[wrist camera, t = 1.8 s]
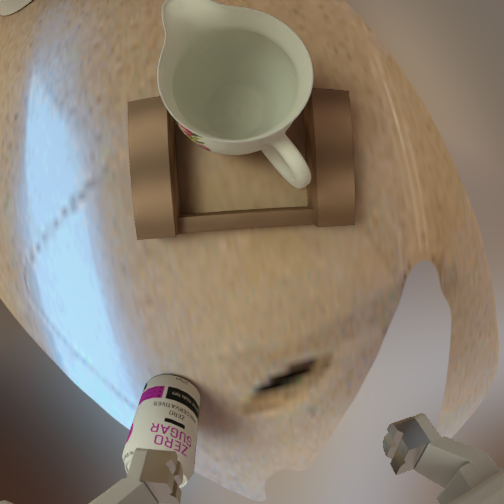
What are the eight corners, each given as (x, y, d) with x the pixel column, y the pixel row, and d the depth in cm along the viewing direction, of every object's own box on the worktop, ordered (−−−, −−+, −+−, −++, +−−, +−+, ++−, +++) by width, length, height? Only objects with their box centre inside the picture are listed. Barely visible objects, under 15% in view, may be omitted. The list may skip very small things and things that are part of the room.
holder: (139, 109, 28) (127, 101, 24) (335, 99, 29) (348, 90, 25) (148, 232, 32) (137, 239, 28) (341, 219, 33) (354, 225, 29)
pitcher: (246, 212, 32) (257, 240, 19) (152, 87, 27) (106, 39, 14) (326, 156, 31) (387, 148, 18) (233, 35, 26) (235, -36, 13)
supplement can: (149, 408, 38) (128, 485, 24) (142, 368, 36) (111, 449, 22) (201, 414, 39) (195, 495, 25) (199, 373, 37) (189, 461, 22)
